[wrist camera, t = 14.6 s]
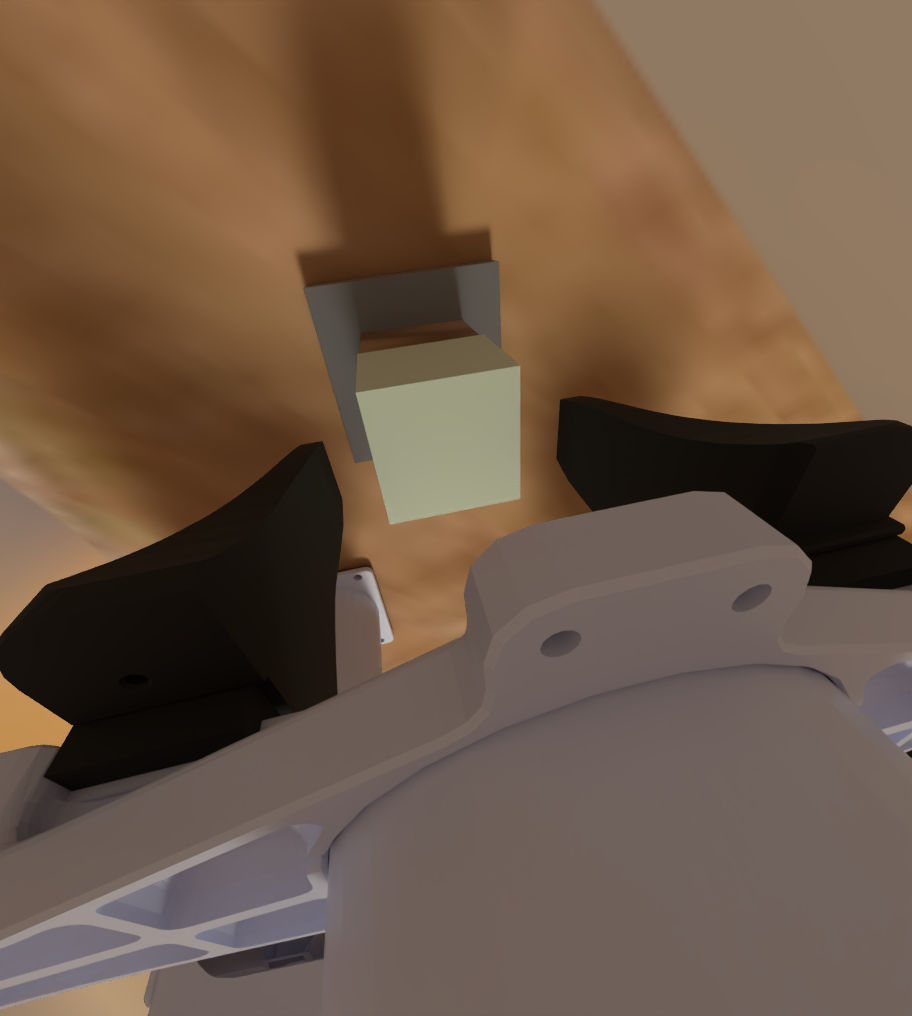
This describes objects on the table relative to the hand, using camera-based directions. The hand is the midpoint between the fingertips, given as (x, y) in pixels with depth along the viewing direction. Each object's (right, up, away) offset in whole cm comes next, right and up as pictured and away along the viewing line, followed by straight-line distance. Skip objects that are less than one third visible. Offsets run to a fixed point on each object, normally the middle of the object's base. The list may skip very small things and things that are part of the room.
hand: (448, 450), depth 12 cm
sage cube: (-1, +2, +3) cm, 4 cm away
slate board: (-2, +5, +7) cm, 9 cm away
